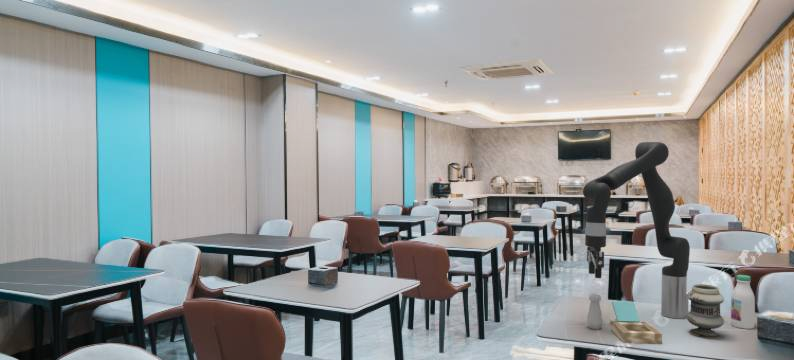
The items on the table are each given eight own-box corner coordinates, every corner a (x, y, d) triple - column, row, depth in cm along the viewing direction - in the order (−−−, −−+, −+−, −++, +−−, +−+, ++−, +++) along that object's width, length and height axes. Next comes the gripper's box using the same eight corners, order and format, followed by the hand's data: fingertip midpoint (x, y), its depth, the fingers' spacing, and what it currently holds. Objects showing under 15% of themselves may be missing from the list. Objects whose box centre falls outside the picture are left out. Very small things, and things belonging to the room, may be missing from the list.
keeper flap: (632, 303, 205) (633, 301, 204) (639, 323, 198) (639, 321, 198) (611, 302, 206) (612, 301, 205) (617, 322, 199) (618, 320, 198)
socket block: (638, 324, 206) (638, 316, 206) (661, 343, 184) (662, 333, 184) (604, 323, 207) (604, 315, 207) (623, 342, 185) (624, 332, 185)
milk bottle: (752, 324, 206) (753, 274, 206) (756, 330, 199) (757, 278, 199) (729, 322, 209) (730, 273, 209) (732, 327, 202) (733, 276, 202)
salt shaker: (603, 330, 198) (604, 296, 198) (587, 329, 200) (588, 295, 199) (600, 326, 204) (601, 293, 204) (585, 325, 205) (586, 292, 205)
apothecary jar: (684, 335, 193) (685, 287, 193) (688, 327, 203) (689, 281, 202) (722, 341, 186) (723, 291, 186) (724, 333, 196) (725, 285, 196)
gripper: (611, 236, 194) (610, 280, 194) (600, 232, 208) (599, 272, 208) (590, 236, 194) (590, 279, 195) (580, 231, 208) (580, 271, 209)
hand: (594, 275), depth 201 cm, fingers open, 8 cm apart
